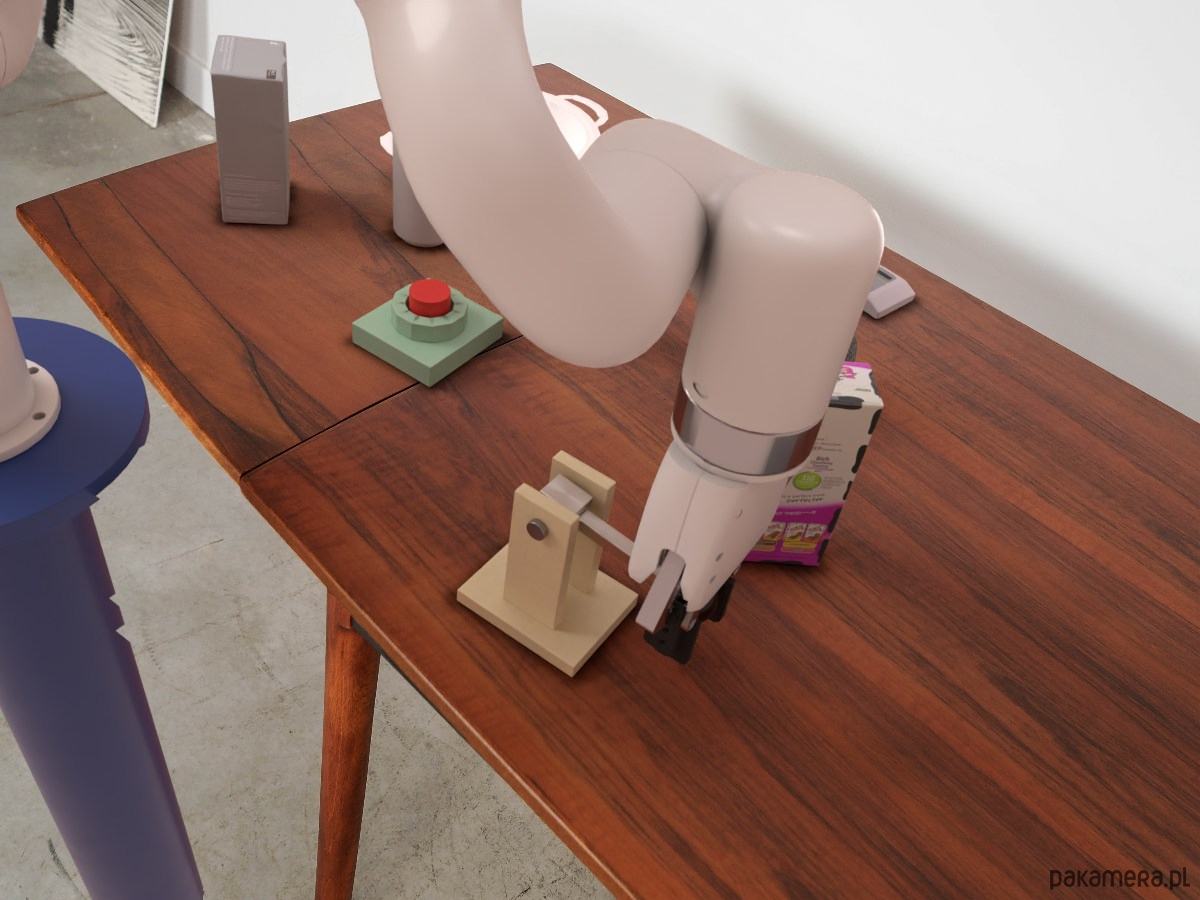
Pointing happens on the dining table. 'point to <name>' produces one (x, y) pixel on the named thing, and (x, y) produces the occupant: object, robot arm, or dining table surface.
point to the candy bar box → (824, 474)
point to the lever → (604, 530)
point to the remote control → (887, 293)
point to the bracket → (552, 575)
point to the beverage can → (409, 211)
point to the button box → (427, 335)
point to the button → (429, 298)
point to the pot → (559, 122)
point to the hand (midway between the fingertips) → (683, 627)
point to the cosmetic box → (252, 128)
